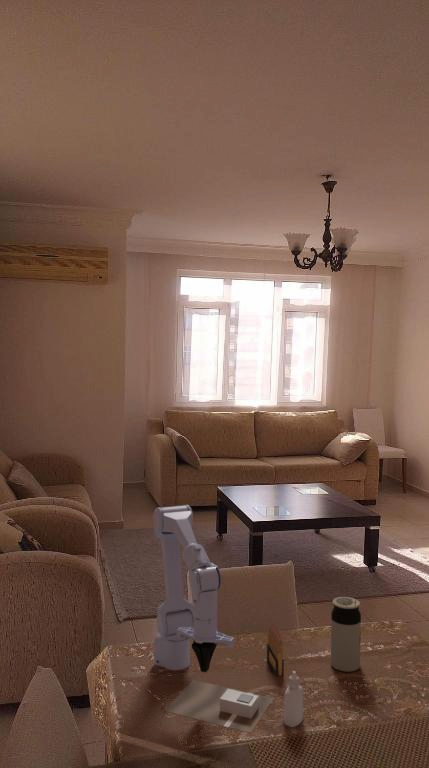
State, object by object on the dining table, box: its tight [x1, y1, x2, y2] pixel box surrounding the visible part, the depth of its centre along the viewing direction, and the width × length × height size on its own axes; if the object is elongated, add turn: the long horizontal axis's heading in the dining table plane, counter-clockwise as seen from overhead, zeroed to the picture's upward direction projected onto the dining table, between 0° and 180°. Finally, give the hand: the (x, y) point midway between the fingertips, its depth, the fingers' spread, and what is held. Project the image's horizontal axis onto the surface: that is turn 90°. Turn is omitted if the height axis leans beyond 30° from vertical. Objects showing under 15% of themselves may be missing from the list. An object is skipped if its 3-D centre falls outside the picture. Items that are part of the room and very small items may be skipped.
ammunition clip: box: [266, 619, 285, 676], centre depth 180 cm, size 11×2×12 cm, turn 10°
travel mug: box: [330, 596, 362, 673], centre depth 182 cm, size 8×8×18 cm
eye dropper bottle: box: [283, 670, 304, 728], centre depth 155 cm, size 4×6×12 cm
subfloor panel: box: [164, 679, 274, 734], centre depth 161 cm, size 22×16×1 cm
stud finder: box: [220, 688, 259, 718], centre depth 158 cm, size 8×5×3 cm, turn 66°
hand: (204, 670), depth 162 cm, fingers closed
